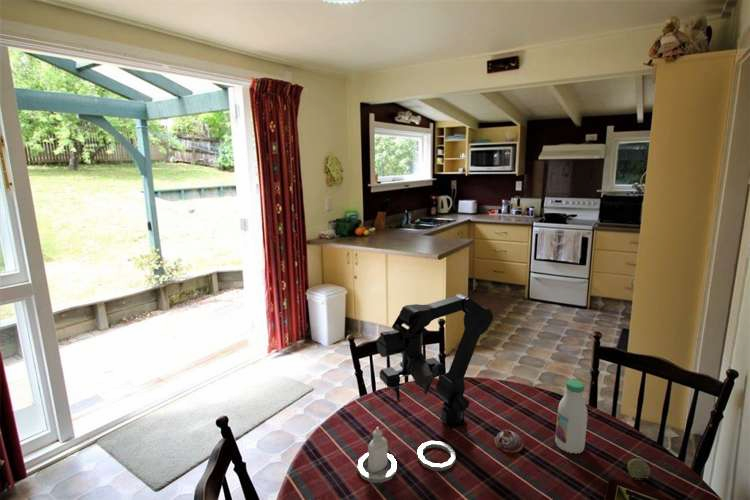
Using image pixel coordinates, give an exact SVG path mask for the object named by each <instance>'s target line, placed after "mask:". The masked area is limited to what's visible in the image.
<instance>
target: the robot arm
mask: <svg viewBox="0 0 750 500" xmlns="http://www.w3.org/2000/svg"><path fill="white" fill-rule="evenodd" d="M461 311H462V312H463V313H464V317H463V327H464V331H463V333H462V336H461V338H460V341H459V344H458V347H457V349H456V352H455V354H454V357H453V359H452V361H451V364H450V367H449V369H448V371H447V372H446V373H444V365H443V364H442V363H441V362H440V361H439V360H438V359H436V358H435V357H431V358H426V356H425V353H423V335H425V334H429V333H430V332H429V330H428V329H427V328H426V327H428V326H429V325H430V323H432V321H434V320H436V319H439V318H443V317H445V316H446V317H447V316H448V315H452V314H455V313H459V312H461ZM493 319H494V315H493V312H492V310H491V309H489V308H487V307H485V306H482V305H480V304H479V303H477V302H475V301H474V299H473V298H471V297H469V296H468V295H464V294H463V293H457V294H456V295H453V296H450V297H448V298H443V299H441V300H438V301H434V302H430V303H428V304H417V303H415V304H408V305H404V306H403V307H401V310H400V312H399V315H398V316H397V317H396V319H395V320H394V323H393V324H392V326H391V329H393V330H389V331H381V332H380V334H379V335H380V336H379V337H378V338H377V341H376V349H377V351H378V354H379V355H380V357H382V358H386V357H390V356H394V355H398V354H400V355H401V357H402V358H401V359H402V360H401V362H400V363H399V366H400V367H401V369H398V370H397V369H395V368H394V367H393V366H390V367H385V368H382V369H380V371H379V379H380V380H381V381H382V382H383V383H384V384H385V385H386V387H390V388H391V390H392V392H393V395H394V397H395V400H396V401H397V402H398V403H399V402H400V400H401V399H400V398H401V396H400V393H401V392H400V388H401V386H402V384H401V383H400V382H401V378H404V377H408V376H411V378H412V380H413V381H414V383H415V384H416V385H417V386H422V390H423V394H424V395H427V394H428V392H429V389H430V388H431V384H432V382H433V381H434V379H436V378H437V377H438V379H437V382H436V384H435V391H436V394H437V396H438V397H439V398H440V399H441V401H443V403H442V404H443V405H442V408H441V415H440V416H439V418H440V420H441V421H443V422H444V424H446V425H447V426H448V428H450V429H454V428H457V427H461V426H464V425H467V424H468V421H467V420H466V419H465V412H466V411H465V410H466V409H468V408H469V406H470V403H471V401H469V400H468V399H467V398H466V397H465V396H464V395H465V389H466V388H465V380H464V378H465V376H466V373H467V370H468V367H469V365H470V363H471V360H472V357H473V354H474V351H475V350H476V346H477V344H478V342H479V338H480V336H482V335H483V334H484V333H485V332H486V331H488V329H489V327H490V325H491V323H492V322H493ZM403 325H405V326H406V327H408V328H406V327H405V326H403Z"/></svg>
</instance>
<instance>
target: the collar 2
mask: <svg viewBox="0 0 750 500" xmlns="http://www.w3.org/2000/svg"><path fill="white" fill-rule="evenodd" d="M431 448H438V449H441V450H444V451H446V452H447V453H448V455H450V458H449V459H448V460H447V461H445V462H443V463H434V462H431V461H429V460H427V459H426V458H425V456H424V455H423V453H425V451H426V450H428V449H431ZM417 460H418V462H419V463H420V464H421V465H422V466H423V467H424V468H427V469H429V470H431V471H438V472H440V471H441V472H443V471H446V470H449V469H452V467H454V465H455V463H456V460H457V459H456V452H455V449H453V448H452V447H451V445H450V444H448V443H445V442H443V441H438V440H437V441H436V440H429V441H426V442H424V443H422V444H421V445H420V446H419V447H418V448H417Z"/></svg>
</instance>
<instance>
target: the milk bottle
mask: <svg viewBox="0 0 750 500" xmlns="http://www.w3.org/2000/svg"><path fill="white" fill-rule="evenodd" d="M565 390H566V391H565V394H564V396H562V398H561V400H560V402H559V404H558V407H557V414H556V416H557V417H556V427H555V440H554V441H555V444H556V446H557V447H558V449H560V450H561V451H563V450H564V451H563V452H565V451H566V453H568V452H569V454H572V453H575V454H574V455H578V454H581V453H582V452H583V451H584V450H585V445H586V436H587V435H586V434H587V425H588V407H587V405H586V403H585V402H586V401H585V400H584V396H583V395H584V393H585V385H584V383H583V382H581V381H579V380H575V379H569V380H566V383H565ZM577 453H578V454H577Z"/></svg>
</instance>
